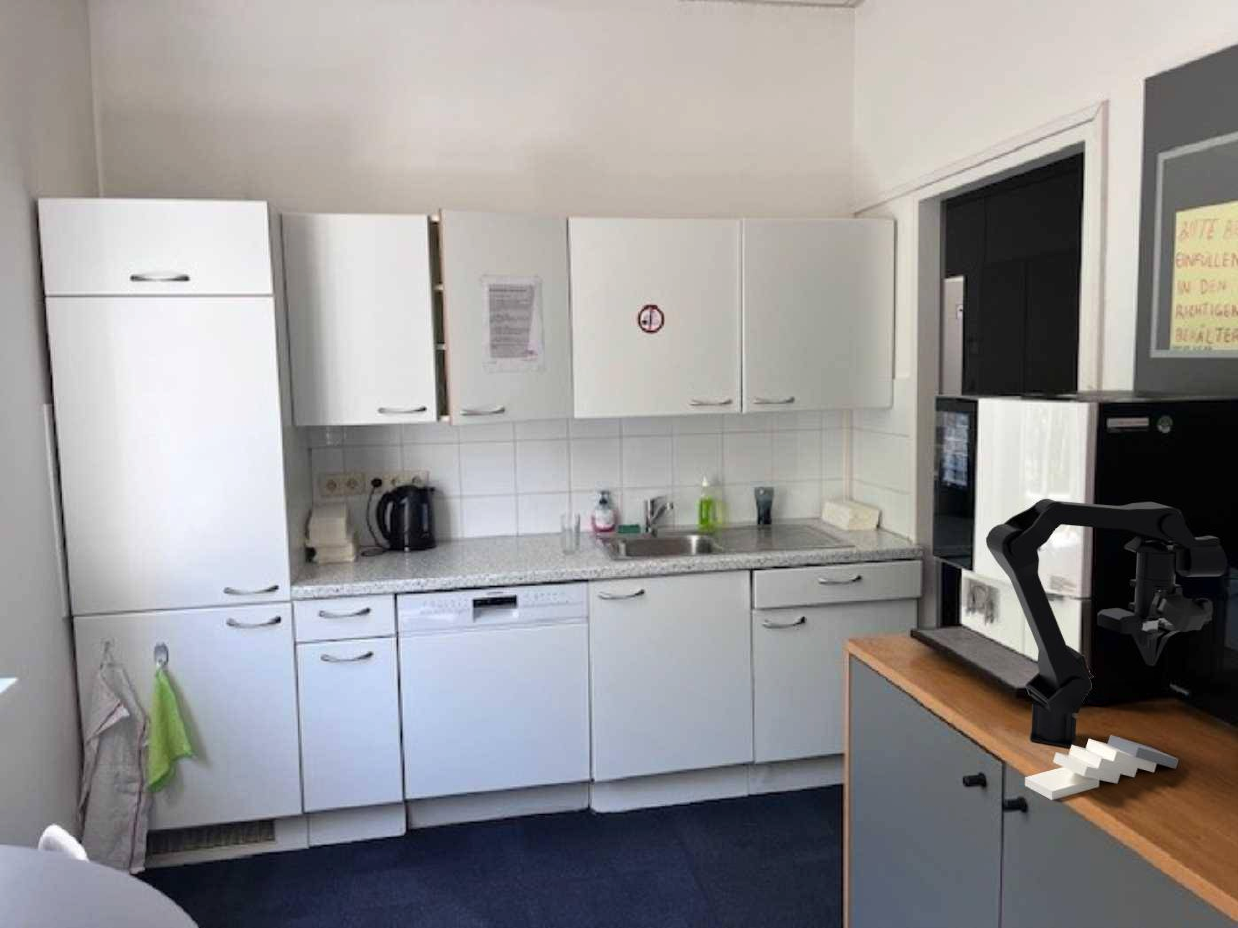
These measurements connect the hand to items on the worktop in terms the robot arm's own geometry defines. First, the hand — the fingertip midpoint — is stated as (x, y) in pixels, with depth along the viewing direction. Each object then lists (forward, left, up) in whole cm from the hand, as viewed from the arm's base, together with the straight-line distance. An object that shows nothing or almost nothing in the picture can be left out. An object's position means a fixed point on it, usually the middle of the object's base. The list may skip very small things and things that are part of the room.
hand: (1150, 664), depth 152 cm
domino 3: (-4, -16, -12) cm, 21 cm away
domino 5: (+2, -10, -12) cm, 16 cm away
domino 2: (-7, -20, -12) cm, 24 cm away
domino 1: (-9, -22, -12) cm, 27 cm away
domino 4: (-1, -13, -12) cm, 18 cm away
